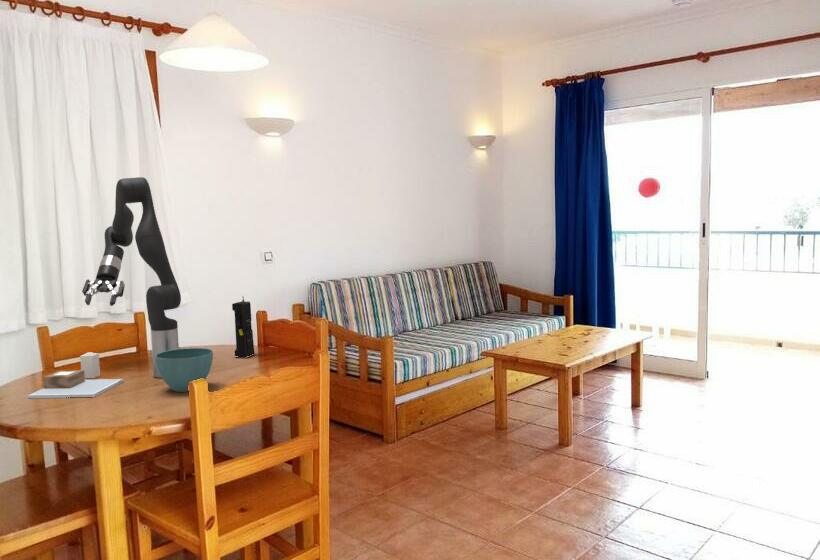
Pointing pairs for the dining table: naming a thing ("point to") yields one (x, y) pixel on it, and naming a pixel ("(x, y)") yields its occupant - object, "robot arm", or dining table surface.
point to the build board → (79, 389)
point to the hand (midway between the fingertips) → (99, 304)
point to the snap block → (90, 364)
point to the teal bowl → (184, 366)
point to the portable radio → (243, 329)
